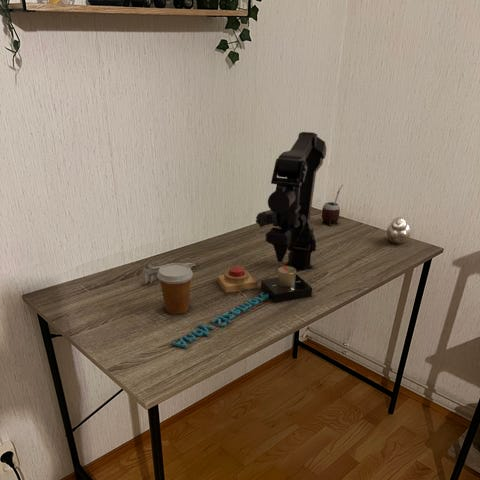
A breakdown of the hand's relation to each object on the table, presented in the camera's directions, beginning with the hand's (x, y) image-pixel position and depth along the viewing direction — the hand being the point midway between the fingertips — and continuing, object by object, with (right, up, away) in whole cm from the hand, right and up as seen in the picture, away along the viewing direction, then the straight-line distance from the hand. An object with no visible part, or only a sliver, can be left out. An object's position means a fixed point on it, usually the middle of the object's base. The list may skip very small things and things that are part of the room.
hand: (285, 256), depth 142 cm
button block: (-14, -8, +10) cm, 19 cm away
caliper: (-35, -4, +16) cm, 39 cm away
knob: (+1, -8, +4) cm, 9 cm away
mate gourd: (+24, +21, +60) cm, 68 cm away
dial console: (+1, -10, +6) cm, 12 cm away
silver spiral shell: (+46, +10, +42) cm, 63 cm away
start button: (-14, -5, +8) cm, 17 cm away
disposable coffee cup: (-31, -15, -3) cm, 34 cm away
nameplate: (-17, -18, -8) cm, 26 cm away
